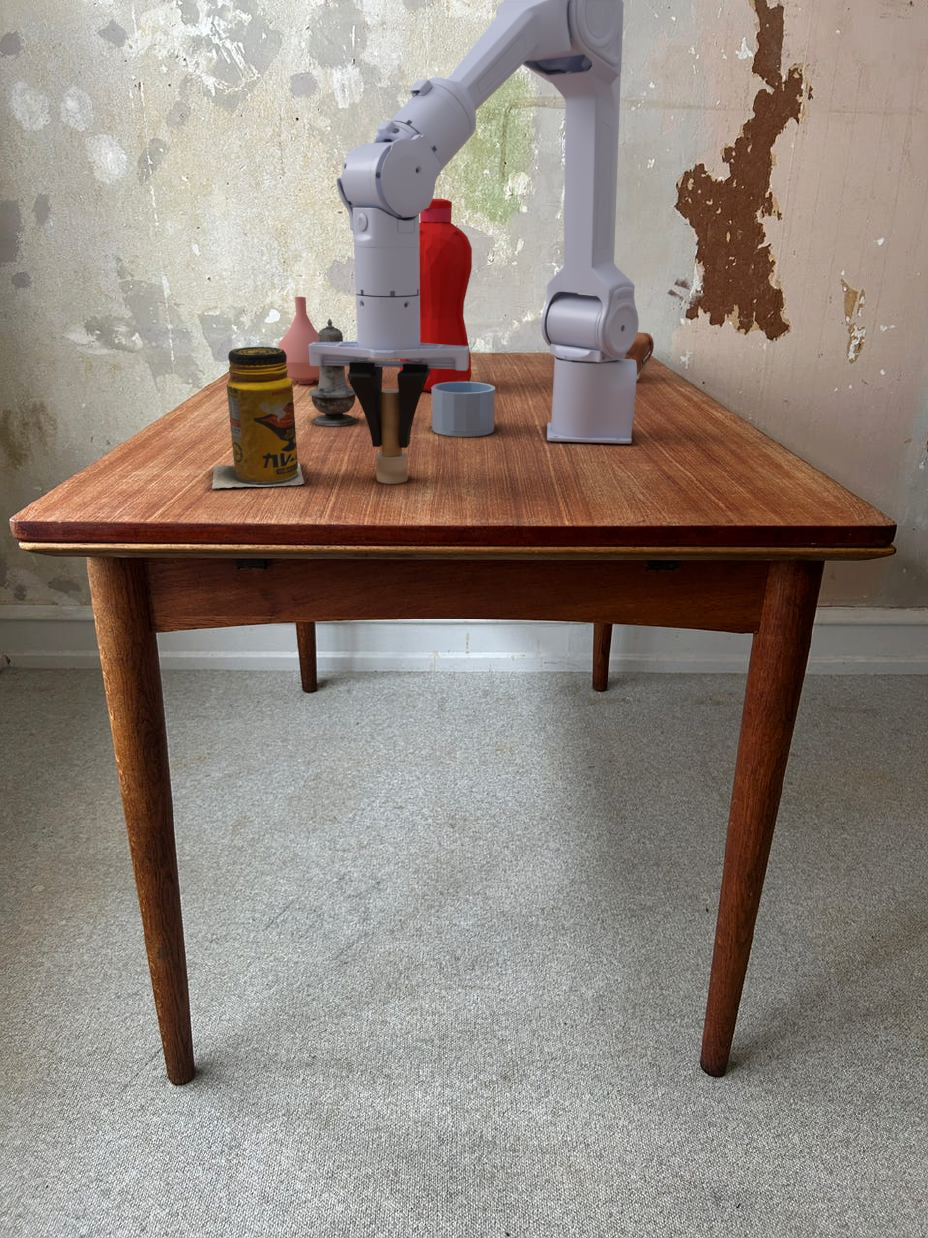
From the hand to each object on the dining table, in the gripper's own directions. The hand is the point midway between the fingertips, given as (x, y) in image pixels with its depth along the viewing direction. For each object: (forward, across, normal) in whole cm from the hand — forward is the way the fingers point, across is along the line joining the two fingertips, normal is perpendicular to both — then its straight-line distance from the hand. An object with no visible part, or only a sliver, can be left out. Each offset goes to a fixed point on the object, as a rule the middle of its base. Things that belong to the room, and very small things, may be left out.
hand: (391, 444), depth 85 cm
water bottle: (+4, -1, +49) cm, 49 cm away
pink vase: (+4, -21, +49) cm, 53 cm away
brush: (+3, 0, 0) cm, 3 cm away
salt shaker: (+4, -11, +24) cm, 27 cm away
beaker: (+3, +5, +22) cm, 23 cm away
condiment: (+4, -13, -1) cm, 14 cm away
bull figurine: (+4, +25, +62) cm, 67 cm away
